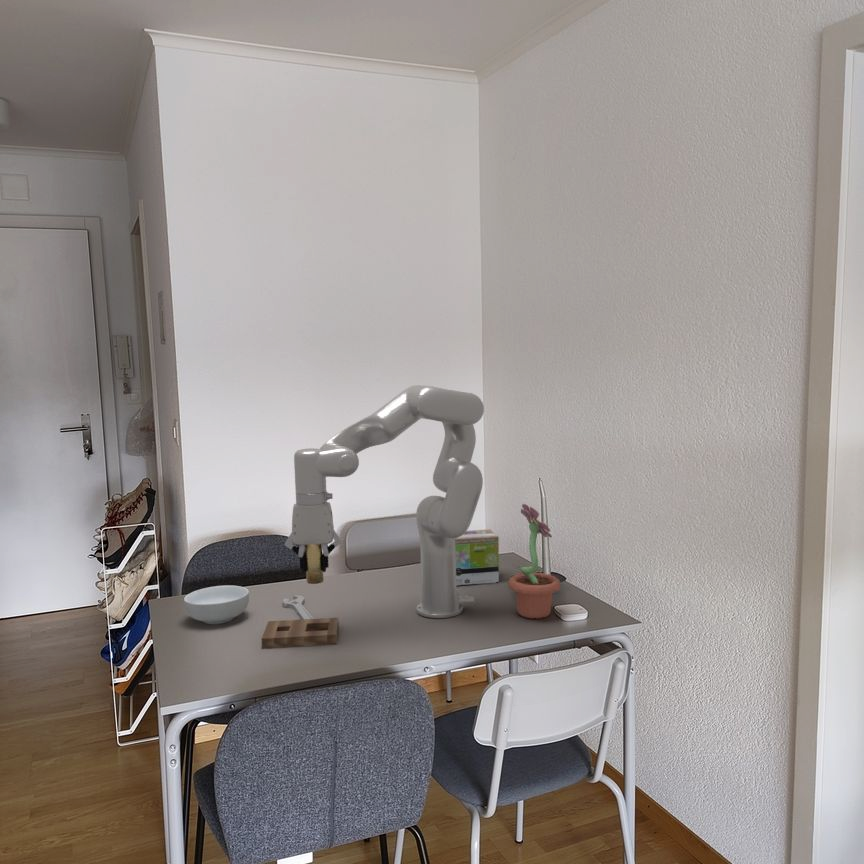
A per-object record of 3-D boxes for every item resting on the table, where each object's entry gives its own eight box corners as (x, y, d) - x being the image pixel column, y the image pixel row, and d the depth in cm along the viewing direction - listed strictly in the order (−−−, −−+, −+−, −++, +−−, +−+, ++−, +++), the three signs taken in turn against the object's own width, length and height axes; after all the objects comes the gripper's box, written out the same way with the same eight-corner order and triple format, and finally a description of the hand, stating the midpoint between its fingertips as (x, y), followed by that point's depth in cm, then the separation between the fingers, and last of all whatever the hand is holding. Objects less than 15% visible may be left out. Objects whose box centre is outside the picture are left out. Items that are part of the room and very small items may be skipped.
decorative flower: (572, 620, 201) (571, 507, 198) (523, 627, 197) (521, 512, 194) (546, 602, 215) (545, 496, 212) (500, 609, 211) (498, 501, 208)
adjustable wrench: (319, 629, 202) (318, 622, 202) (294, 633, 200) (293, 626, 200) (302, 600, 225) (302, 594, 225) (280, 602, 223) (280, 597, 223)
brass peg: (324, 578, 196) (322, 539, 195) (323, 583, 192) (321, 543, 191) (307, 579, 196) (305, 540, 195) (305, 584, 192) (304, 544, 190)
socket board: (338, 626, 202) (338, 617, 201) (336, 644, 190) (336, 634, 190) (268, 630, 200) (268, 621, 200) (262, 648, 189) (261, 638, 188)
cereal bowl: (250, 606, 220) (248, 581, 220) (250, 626, 204) (249, 600, 203) (187, 612, 216) (185, 588, 216) (183, 633, 200) (181, 607, 200)
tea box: (451, 587, 232) (450, 539, 230) (444, 578, 242) (442, 531, 240) (499, 583, 235) (498, 535, 233) (490, 573, 244) (489, 527, 243)
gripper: (346, 494, 196) (348, 565, 198) (278, 497, 195) (282, 568, 197) (345, 500, 188) (347, 573, 190) (275, 503, 187) (278, 577, 189)
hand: (314, 570), depth 193 cm, fingers closed on brass peg, 4 cm apart
